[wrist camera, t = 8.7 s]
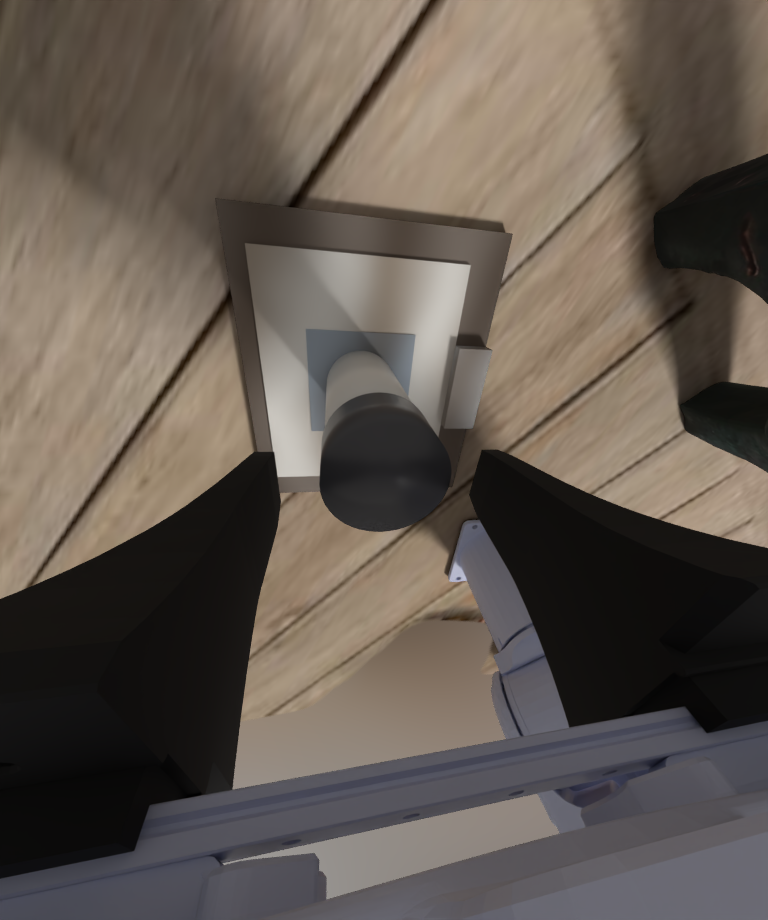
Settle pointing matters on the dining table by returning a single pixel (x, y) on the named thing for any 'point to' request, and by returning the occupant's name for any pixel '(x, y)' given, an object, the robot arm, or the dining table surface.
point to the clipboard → (356, 318)
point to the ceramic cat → (733, 255)
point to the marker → (378, 449)
